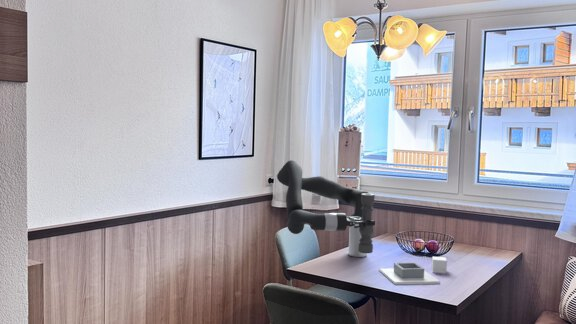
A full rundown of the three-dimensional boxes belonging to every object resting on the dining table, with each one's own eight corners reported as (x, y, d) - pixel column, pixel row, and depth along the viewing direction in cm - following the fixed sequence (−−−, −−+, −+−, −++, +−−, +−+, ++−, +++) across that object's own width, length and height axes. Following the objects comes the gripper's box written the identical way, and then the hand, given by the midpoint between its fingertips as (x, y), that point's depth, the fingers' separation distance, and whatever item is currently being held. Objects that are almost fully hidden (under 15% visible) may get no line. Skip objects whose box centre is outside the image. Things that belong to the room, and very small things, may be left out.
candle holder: (361, 253, 222) (364, 195, 220) (355, 250, 228) (358, 193, 226) (375, 253, 224) (377, 195, 222) (368, 249, 230) (371, 193, 228)
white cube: (432, 272, 238) (433, 259, 238) (431, 269, 244) (432, 256, 243) (446, 273, 237) (447, 260, 236) (445, 270, 243) (445, 257, 242)
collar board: (379, 270, 238) (379, 260, 238) (420, 270, 241) (421, 259, 241) (394, 284, 218) (395, 272, 218) (439, 283, 221) (440, 272, 221)
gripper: (338, 216, 215) (378, 216, 218) (330, 210, 229) (368, 210, 232) (338, 234, 216) (378, 234, 218) (330, 227, 230) (367, 227, 232)
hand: (372, 221), depth 225 cm, fingers closed on candle holder, 3 cm apart
